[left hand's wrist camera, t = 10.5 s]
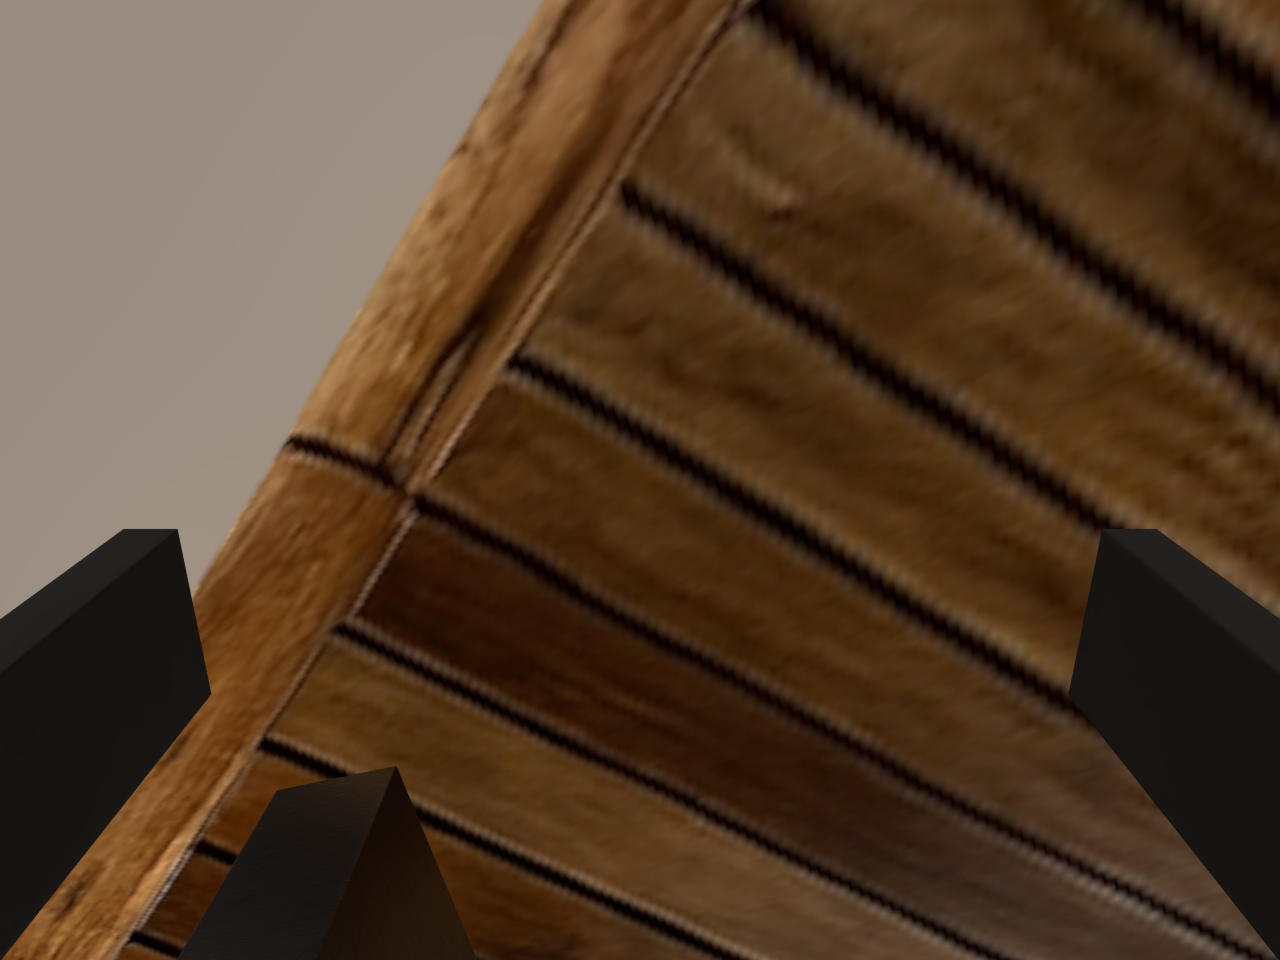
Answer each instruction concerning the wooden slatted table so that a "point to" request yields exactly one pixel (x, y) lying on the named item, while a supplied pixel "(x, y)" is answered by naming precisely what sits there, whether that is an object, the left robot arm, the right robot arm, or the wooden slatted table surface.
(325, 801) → the bar
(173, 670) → the left robot arm
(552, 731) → the wooden slatted table surface
